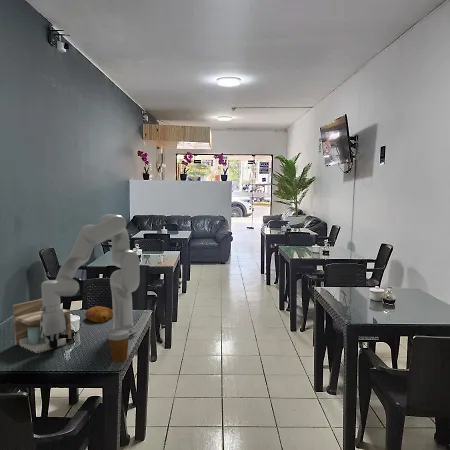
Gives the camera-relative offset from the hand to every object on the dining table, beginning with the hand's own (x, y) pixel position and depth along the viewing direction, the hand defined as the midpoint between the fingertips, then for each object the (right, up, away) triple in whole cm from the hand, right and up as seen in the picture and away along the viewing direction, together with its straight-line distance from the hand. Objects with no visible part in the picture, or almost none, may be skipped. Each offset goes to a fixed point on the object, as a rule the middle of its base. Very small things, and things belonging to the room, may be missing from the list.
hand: (53, 347), depth 193 cm
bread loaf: (+8, +3, +45) cm, 46 cm away
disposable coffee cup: (+32, -2, -11) cm, 34 cm away
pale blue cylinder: (-3, 0, +5) cm, 6 cm away
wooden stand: (-9, 0, +10) cm, 13 cm away
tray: (-7, -1, +6) cm, 10 cm away
